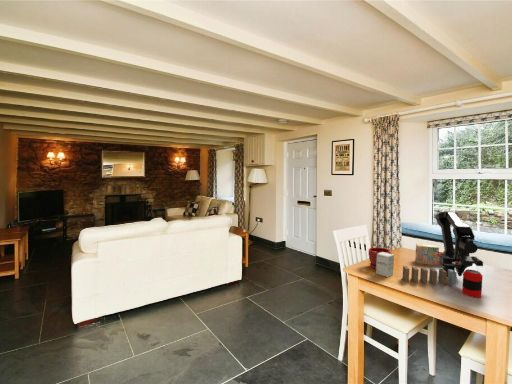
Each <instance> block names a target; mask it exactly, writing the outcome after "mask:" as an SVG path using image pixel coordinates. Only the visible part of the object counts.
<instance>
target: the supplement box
mask: <svg viewBox="0 0 512 384" xmlns="http://www.w3.org/2000/svg"><path fill="white" fill-rule="evenodd" d="M394 261H395V254H393V253H392V254H389V253H385V252H381V253H378V254H377V263H376V269H375V274H376V275H379V276H383V277H385V276H386V278H389V277H391V276H393V275H394V265H395V262H394Z"/></svg>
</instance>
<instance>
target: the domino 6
mask: <svg viewBox="0 0 512 384" xmlns="http://www.w3.org/2000/svg"><path fill="white" fill-rule="evenodd" d="M456 277H458V273H457V271H456V270H455V271H453V270H450V269H448V277H447V279H446V283H448V284H449V286H451V287H457V278H456Z"/></svg>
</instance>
